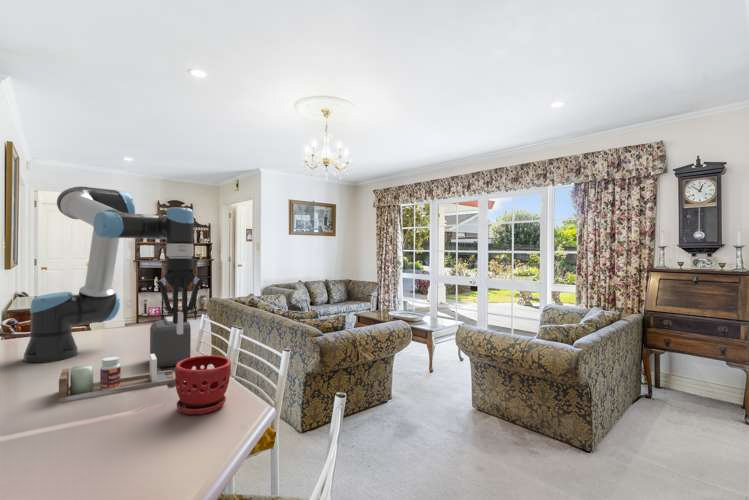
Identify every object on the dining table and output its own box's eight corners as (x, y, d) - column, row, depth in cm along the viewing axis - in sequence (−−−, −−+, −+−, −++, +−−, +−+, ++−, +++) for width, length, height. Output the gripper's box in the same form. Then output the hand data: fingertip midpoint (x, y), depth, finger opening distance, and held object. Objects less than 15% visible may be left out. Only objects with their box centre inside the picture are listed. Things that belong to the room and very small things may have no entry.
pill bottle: (110, 391, 105) (110, 361, 105) (95, 390, 106) (96, 360, 106) (124, 385, 110) (124, 356, 110) (110, 384, 111) (111, 355, 111)
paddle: (149, 376, 117) (149, 354, 117) (164, 374, 119) (164, 352, 119) (152, 383, 111) (152, 359, 111) (167, 381, 113) (167, 357, 113)
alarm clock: (190, 365, 133) (190, 320, 133) (152, 371, 126) (153, 324, 126) (183, 354, 146) (183, 313, 146) (149, 358, 140) (149, 316, 140)
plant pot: (174, 423, 89) (175, 372, 89) (175, 402, 101) (175, 357, 101) (233, 412, 95) (234, 365, 95) (227, 394, 107) (227, 352, 107)
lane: (62, 394, 106) (62, 368, 106) (171, 376, 122) (171, 354, 121) (58, 406, 98) (58, 379, 98) (176, 385, 113) (176, 362, 113)
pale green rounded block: (70, 391, 105) (71, 366, 105) (93, 388, 108) (93, 363, 108) (69, 397, 101) (69, 371, 101) (92, 393, 104) (93, 368, 104)
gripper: (157, 258, 111) (157, 338, 111) (205, 257, 119) (204, 333, 119) (154, 257, 117) (154, 333, 117) (200, 257, 125) (200, 329, 125)
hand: (179, 333), depth 118 cm, fingers closed
